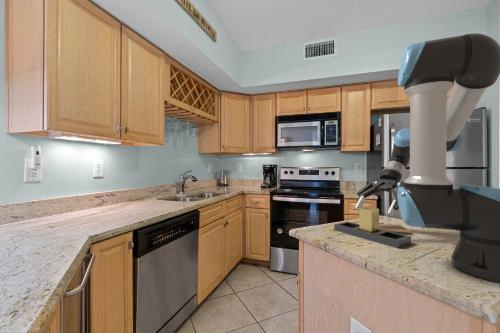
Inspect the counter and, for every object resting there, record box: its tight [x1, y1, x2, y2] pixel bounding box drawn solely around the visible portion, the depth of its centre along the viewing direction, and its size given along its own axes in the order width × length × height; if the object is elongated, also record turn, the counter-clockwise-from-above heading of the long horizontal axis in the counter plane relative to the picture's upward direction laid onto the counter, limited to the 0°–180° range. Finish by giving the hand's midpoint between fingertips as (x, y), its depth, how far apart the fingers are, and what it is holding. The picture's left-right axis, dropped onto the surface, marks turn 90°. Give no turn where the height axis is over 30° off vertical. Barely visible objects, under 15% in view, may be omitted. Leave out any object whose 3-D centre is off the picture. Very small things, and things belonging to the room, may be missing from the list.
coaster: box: [379, 223, 413, 236], centre depth 102 cm, size 12×12×2 cm
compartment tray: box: [333, 221, 412, 249], centre depth 94 cm, size 26×9×3 cm, turn 32°
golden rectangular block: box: [359, 206, 380, 233], centre depth 94 cm, size 5×5×11 cm
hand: (372, 212), depth 96 cm, fingers open, 13 cm apart
